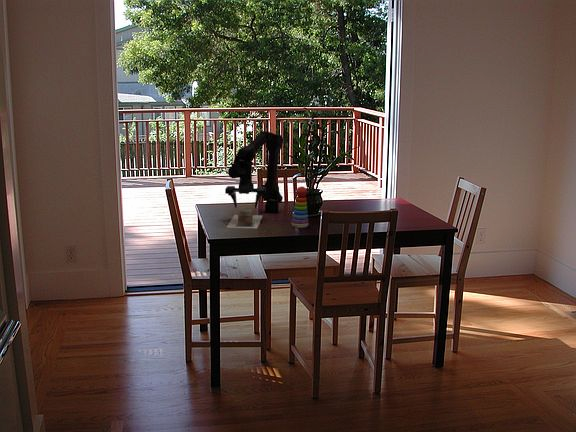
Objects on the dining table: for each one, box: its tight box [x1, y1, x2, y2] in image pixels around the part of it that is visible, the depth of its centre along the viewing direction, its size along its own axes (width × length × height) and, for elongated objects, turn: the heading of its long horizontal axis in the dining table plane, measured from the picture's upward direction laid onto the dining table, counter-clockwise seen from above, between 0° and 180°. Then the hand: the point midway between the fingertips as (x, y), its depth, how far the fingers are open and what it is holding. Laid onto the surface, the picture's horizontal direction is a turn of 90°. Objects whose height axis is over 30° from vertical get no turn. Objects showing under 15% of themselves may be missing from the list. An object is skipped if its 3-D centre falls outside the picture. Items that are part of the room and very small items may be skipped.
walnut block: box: [237, 211, 254, 226], centre depth 317 cm, size 6×6×5 cm
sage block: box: [239, 208, 253, 213], centre depth 325 cm, size 5×5×5 cm
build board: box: [225, 214, 263, 229], centre depth 325 cm, size 14×27×1 cm, turn 176°
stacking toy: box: [291, 186, 309, 229], centre depth 318 cm, size 8×8×19 cm
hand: (245, 208), depth 325 cm, fingers open, 9 cm apart
